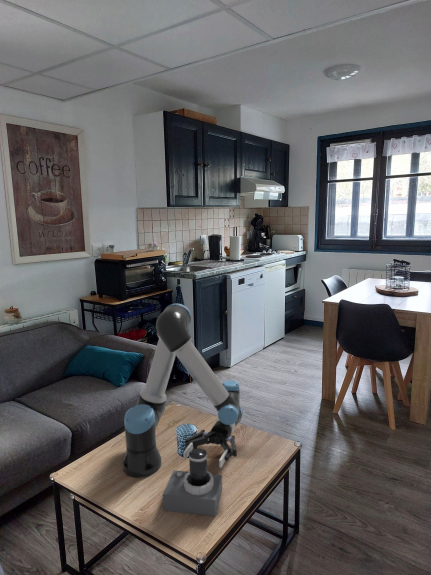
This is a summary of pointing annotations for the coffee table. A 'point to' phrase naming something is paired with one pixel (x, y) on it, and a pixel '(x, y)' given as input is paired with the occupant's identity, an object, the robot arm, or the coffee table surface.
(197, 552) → the coffee table surface
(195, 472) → the lens
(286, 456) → the coffee table surface
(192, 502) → the camera body
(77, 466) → the coffee table surface
